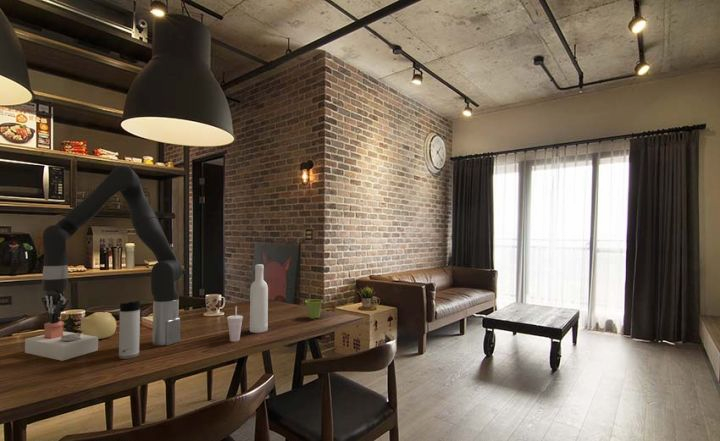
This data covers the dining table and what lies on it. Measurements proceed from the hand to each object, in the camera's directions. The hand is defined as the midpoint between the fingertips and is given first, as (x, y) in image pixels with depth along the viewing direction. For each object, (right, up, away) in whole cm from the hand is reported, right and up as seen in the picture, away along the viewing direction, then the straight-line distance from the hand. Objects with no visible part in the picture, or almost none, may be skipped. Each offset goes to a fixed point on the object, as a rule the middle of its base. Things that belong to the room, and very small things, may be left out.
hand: (54, 322), depth 140 cm
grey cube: (+9, -10, -4) cm, 14 cm away
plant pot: (+92, -12, +54) cm, 107 cm away
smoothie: (+64, -11, +13) cm, 67 cm away
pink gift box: (0, -6, 0) cm, 6 cm away
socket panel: (+5, -10, -2) cm, 11 cm away
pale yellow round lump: (+6, -11, +15) cm, 20 cm away
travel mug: (+33, -10, -7) cm, 35 cm away
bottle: (+70, -11, +28) cm, 76 cm away
